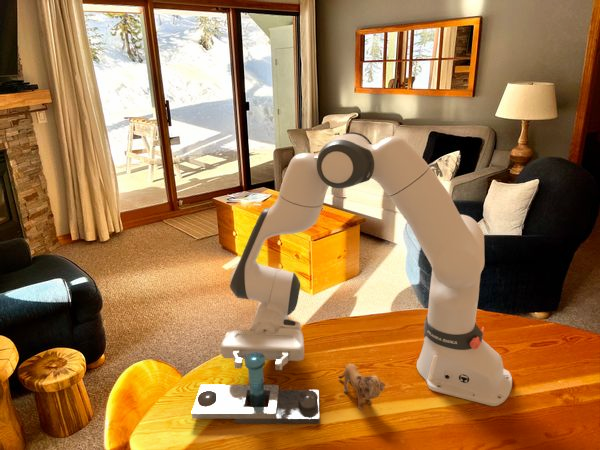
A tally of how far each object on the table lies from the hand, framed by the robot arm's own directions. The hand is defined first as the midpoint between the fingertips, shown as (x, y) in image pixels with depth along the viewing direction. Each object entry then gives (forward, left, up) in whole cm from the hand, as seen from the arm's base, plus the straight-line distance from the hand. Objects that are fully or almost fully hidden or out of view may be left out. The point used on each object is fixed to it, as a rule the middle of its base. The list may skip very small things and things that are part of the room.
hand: (257, 366), depth 105 cm
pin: (-1, +2, -9) cm, 10 cm away
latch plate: (-1, +2, -9) cm, 10 cm away
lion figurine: (-19, -14, -10) cm, 26 cm away
